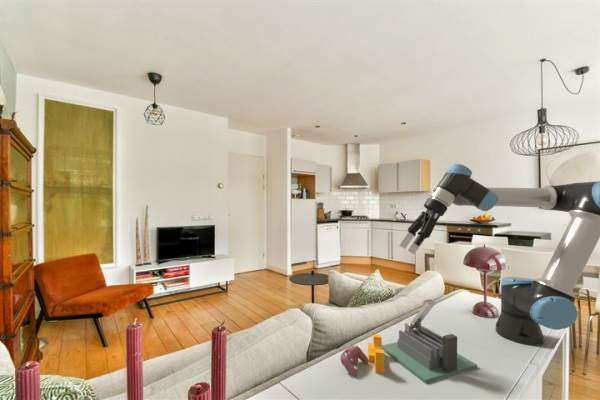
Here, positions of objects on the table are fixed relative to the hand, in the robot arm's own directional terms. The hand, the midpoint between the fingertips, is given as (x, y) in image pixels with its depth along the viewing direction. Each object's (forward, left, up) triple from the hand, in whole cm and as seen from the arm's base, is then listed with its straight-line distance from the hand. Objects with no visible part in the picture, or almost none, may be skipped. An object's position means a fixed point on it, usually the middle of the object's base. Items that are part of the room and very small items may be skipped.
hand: (405, 249), depth 105 cm
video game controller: (+26, +6, -35) cm, 44 cm away
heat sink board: (0, +10, -35) cm, 36 cm away
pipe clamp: (+18, +6, -35) cm, 40 cm away
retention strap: (0, +8, -22) cm, 24 cm away
